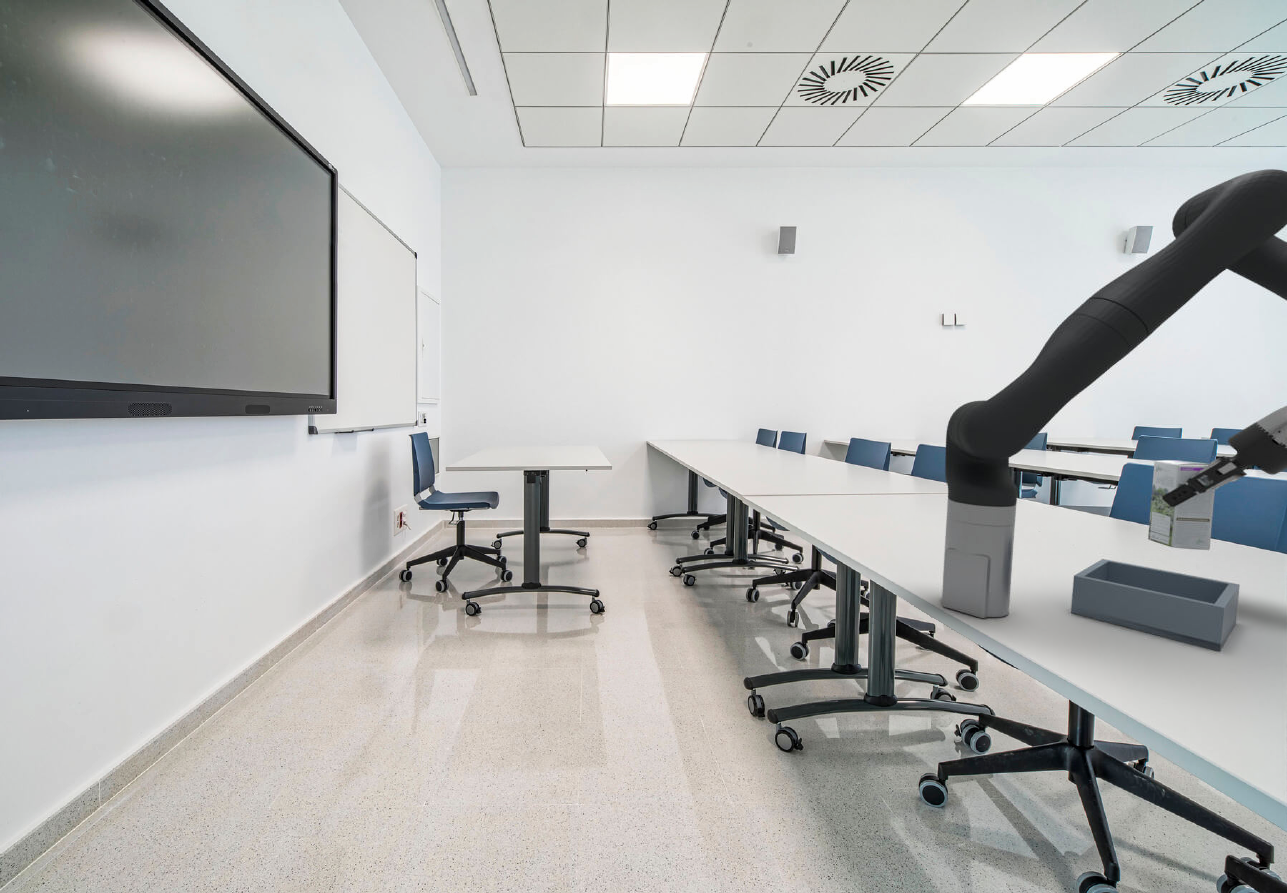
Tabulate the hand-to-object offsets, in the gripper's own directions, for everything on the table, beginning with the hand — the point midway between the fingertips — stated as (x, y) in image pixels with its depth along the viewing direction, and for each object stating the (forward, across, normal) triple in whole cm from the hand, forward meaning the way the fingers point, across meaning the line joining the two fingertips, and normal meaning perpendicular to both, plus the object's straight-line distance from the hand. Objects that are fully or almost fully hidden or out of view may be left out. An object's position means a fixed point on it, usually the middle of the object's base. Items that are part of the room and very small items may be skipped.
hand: (1172, 500), depth 91 cm
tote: (+11, +17, +13) cm, 24 cm away
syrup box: (+5, 0, +6) cm, 8 cm away
